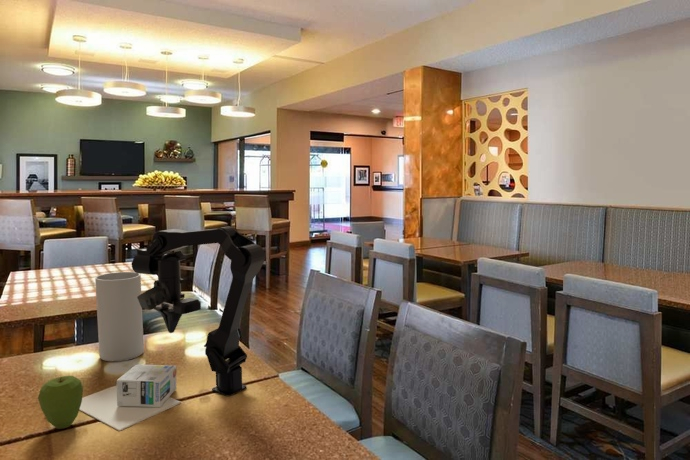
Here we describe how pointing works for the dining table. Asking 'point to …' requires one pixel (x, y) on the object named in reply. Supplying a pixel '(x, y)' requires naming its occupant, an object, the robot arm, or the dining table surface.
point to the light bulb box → (146, 385)
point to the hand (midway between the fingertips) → (171, 332)
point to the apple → (61, 400)
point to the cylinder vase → (119, 316)
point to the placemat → (119, 409)
